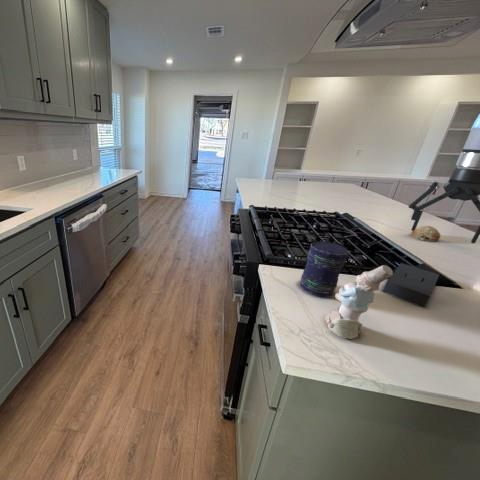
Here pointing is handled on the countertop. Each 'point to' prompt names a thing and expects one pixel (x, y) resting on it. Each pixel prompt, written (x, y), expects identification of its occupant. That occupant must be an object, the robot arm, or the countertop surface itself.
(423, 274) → the loose pad
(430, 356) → the countertop surface
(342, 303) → the figurine
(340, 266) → the storage jar
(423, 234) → the bread roll
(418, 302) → the base pad
